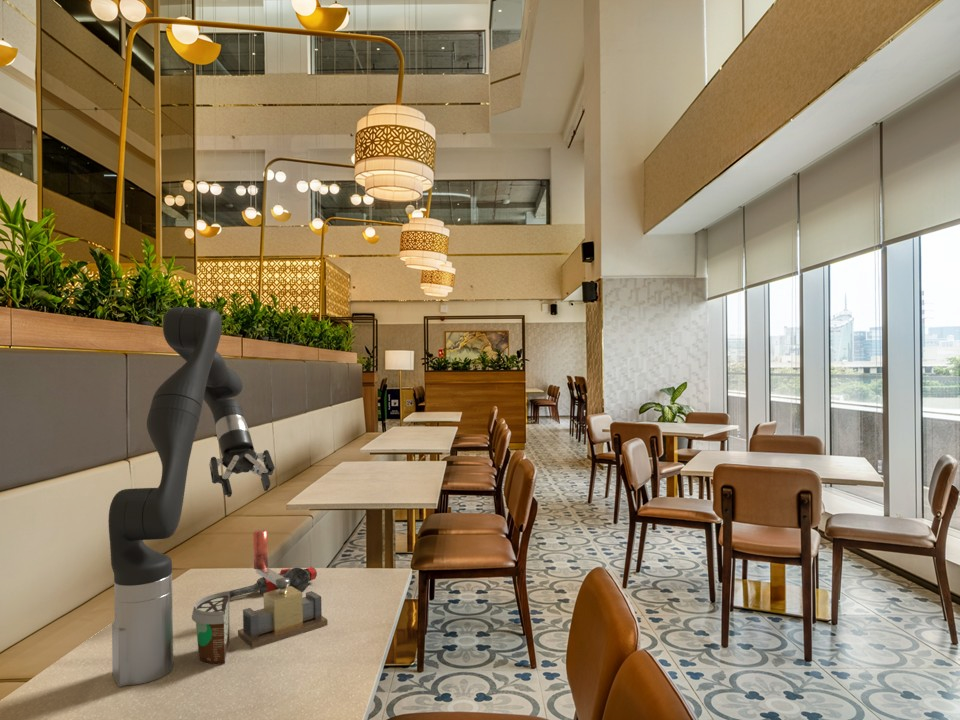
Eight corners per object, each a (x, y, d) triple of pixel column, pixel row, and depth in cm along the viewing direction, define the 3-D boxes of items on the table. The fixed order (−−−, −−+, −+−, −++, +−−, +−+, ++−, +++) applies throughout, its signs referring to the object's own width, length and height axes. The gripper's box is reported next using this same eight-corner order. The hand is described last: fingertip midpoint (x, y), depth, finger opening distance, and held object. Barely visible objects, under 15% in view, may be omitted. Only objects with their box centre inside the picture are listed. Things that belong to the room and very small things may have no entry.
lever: (292, 585, 127) (291, 541, 128) (278, 589, 125) (277, 544, 126) (264, 569, 139) (264, 529, 139) (251, 572, 137) (251, 531, 137)
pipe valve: (252, 648, 119) (251, 602, 119) (237, 635, 125) (237, 591, 125) (327, 625, 129) (326, 582, 130) (310, 614, 135) (310, 573, 136)
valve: (307, 580, 165) (324, 588, 152) (203, 606, 151) (211, 617, 138) (305, 556, 165) (321, 562, 153) (201, 579, 152) (209, 588, 139)
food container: (197, 644, 122) (196, 593, 122) (230, 639, 123) (229, 589, 124) (187, 672, 110) (186, 617, 110) (224, 667, 112) (223, 612, 112)
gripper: (206, 431, 147) (219, 488, 138) (265, 425, 155) (282, 478, 147) (201, 449, 151) (214, 506, 143) (259, 442, 160) (275, 495, 151)
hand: (248, 492), depth 145 cm, fingers open, 8 cm apart
